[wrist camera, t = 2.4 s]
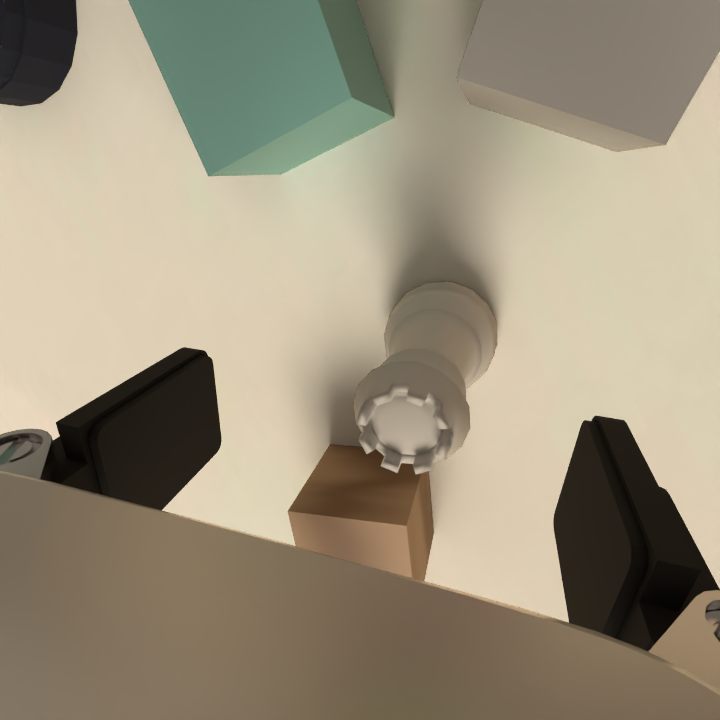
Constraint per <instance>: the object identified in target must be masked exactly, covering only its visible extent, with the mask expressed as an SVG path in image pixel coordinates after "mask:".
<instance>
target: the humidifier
mask: <svg viewBox="0 0 720 720" xmlns="http://www.w3.org/2000/svg"><path fill="white" fill-rule="evenodd" d="M76 39H77V17H76V0H0V104H7V105H15V106H26V105H33V104H39V103H42V102H44V101H45V100H46V99H48V98H49V97H50V96H51V95H53V94H54V93H55V92H57V91H58V90H59V89H60V87H61V85H62V83H63V81H64V79H65V77H66V76H67V74H68V72H69V70H70V68H71V66H72V61H73V55H74V50H75V44H76Z"/></svg>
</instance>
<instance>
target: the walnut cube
mask: <svg viewBox="0 0 720 720" xmlns="http://www.w3.org/2000/svg"><path fill="white" fill-rule="evenodd" d="M384 457H385V456H384V455H383V454H381V453H380V452H379V451H378V450H377V449H376V448H375V450H373V451H372V452H370V453H368V454H366V452H365V451H364V449H363V447H355V446H339V445H330V446H329V447H328V449H327V450H326V452H325V453H324V455H323V457H322V458H321V460H320V461H319V463H318V465H317V466H316V468H315V469H314V471H313V472H312V474H311V476H310V477H309V479H308V480H307V482H306V483H305V485H304V487H303V488H302V490H301V491H300V493H299V494H298V496H297V498H296V499H295V501H294V502H293V504H292V505H291V507H290V509H289V510H288V514H289V519H290V523H291V527H292V531H293V536H294V540H295V544H296V546H297V547H300V548H304V549H308V550H312V551H315V552H319V553H323V554H326V555H330V556H334V557H337V558H341V559H345V560H348V561H352V562H356V563H359V564H363V565H367V566H370V567H374V568H378V569H381V570H385V571H389V572H392V573H396V574H399V575H403V576H407V577H410V578H414V579H418V580H421V581H424V579H425V574H426V569H427V564H428V559H429V554H430V549H431V544H432V539H433V534H434V530H433V518H432V505H431V492H430V480H429V471H427V472H424V473H420V474H415V471H414V468H413V464H407V463H401V465H400V468H399V471H398V473H396V472H393V471H391V470H389V469H386V468H384V467H382V466H381V464H382V461H383V459H384Z"/></svg>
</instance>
